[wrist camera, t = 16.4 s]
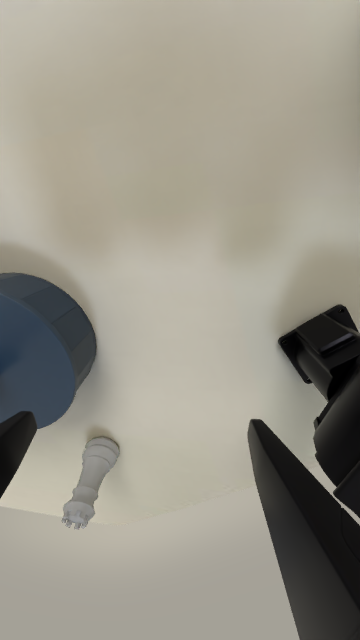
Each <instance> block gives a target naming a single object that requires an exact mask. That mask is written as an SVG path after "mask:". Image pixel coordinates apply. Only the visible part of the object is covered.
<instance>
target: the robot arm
mask: <svg viewBox="0 0 360 640" xmlns="http://www.w3.org/2000/svg"><path fill="white" fill-rule="evenodd" d="M339 309H341V311H340V312H338V311H339ZM285 340H286V342H285V343H282V342H283V341H285ZM278 343H279V345H280V346H281V348H282V349H283V351H284V352H285V353H286V355H287V356H288V358H289V359H290V361H291V362H292V364H293V365H294V367H295V368H296V370H297V371H298V373H299V374H300V376H301V377H302V379H303V380H304V382H305V383H307V384H310V383H314V385H315V386H316V387H317V388H318V390H319V391H320V392H321V394H322V395H323V396H324V397H325V399H326V400H327V401H328V404H327V405H326V407H325V408H324V410H323V411H322V413H321V414H320V416H319V417H317V418H316V419H315V421H314V427H315V434H314V438H313V439H314V444H315V448H316V451H317V453H316V454H315V457H316V459H317V461H318V462H319V464H320V466H321V468H322V469H323V471H324V472H325V474H326V475H327V476H328V478H329V479H330V480H331V481H332V483H333V484H334V485H335V486H336V487H337V488H336V489H335V490H334V491H333V494H334V496H335V497H336V498H337V499H339V500H340V501H341V502H342V503H343V504H345V505H346V506H347V507H348V508H349V509H351V510H352V511H353V512H354V513H355V514H356V515H357V516H358V517H359V518H360V333H359V332H358V330H357V328H356V326H355V324H354V322H353V320H352V318H351V316H350V314H349V312H348V310H347V308H346V307H345V306H343V305H336V306H335V307H333V308H331V309H329V310H328V311H326V312H324V313H322V314H320V315H318V316H316V317H314V318H313V319H311V320H309V321H307V322H306V323H304V324H302V325H300V326H299V327H297V328H296V329H294V330H293V331H291V332H289V333H287V334H286V335H284V336H282V337H281V338H279V340H278ZM308 378H310V379H308ZM307 379H308V380H307ZM36 431H37V422H36V420H35V417H34V414H33V412H32V411H20V412H18V413H17V414H15V415H13V416H12V417H10V418H8V419H7V420H5V421H3V422H2V423H0V498H1V497H2V495H3V493H4V492H5V490H6V488H7V487H8V485H9V483H10V482H11V480H12V478H13V477H14V475H15V473H16V471H17V469H18V468H19V466H20V464H21V462H22V460H23V458H24V456H25V454H26V452H27V450H28V447H29V445H30V443H31V441H32V439H33V437H34V435H35V433H36ZM248 443H249V449H250V454H251V460H252V466H253V471H254V476H255V481H256V485H257V489H258V493H259V496H260V500H261V503H262V507H263V511H264V514H265V517H266V521H267V525H268V528H269V532H270V535H271V539H272V542H273V546H274V549H275V553H276V557H277V560H278V564H279V567H280V571H281V574H282V578H283V581H284V585H285V588H286V592H287V596H288V599H289V603H290V606H291V610H292V613H293V617H294V621H295V624H296V627H297V631H298V635H299V638H300V640H360V526H359V524H358V523H357V522H356V521H355V520H354V519H353V518H352V517H351V516H350V515H349V514H348V513H347V511H346V510H344V508H341V505H340V504H339V503H338V502H337V501H336V500H335V499H334V498H333V496H332V495H330V493H329V492H328V491H327V490H326V489H325V488H324V487H323V486H322V485H321V484H320V482H318V480H317V479H316V478H315V477H314V476H313V475H312V474H311V473H310V472H309V471H308V469H307V468H306V467H305V466H304V465H303V464H302V463H301V462H300V461H299V460H298V459H297V458H296V457H295V455H294V454H293V453H292V452H291V451H290V450H289V449H288V448H287V447H286V446H285V445H284V444H283V442H282V441H281V440H280V439H279V438H278V437H277V436H276V435H275V434H274V433H273V432H272V431H271V430H270V428H269V427H268V426H267V425H266V424H265V423H264V422H263V421H262V420H260V419H251V420H250V423H249V429H248Z"/></svg>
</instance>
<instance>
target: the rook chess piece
mask: <svg viewBox="0 0 360 640" xmlns="http://www.w3.org/2000/svg"><path fill="white" fill-rule="evenodd" d="M118 455H119V449H118V446H117V445H116V443H115V442H114V441H112V440H111V439H108V438H105V437H98V438H94V439H92V440H91V441H89V442H88V443H87V444H86V447H85V450H84V452H83V455H82V459H83V463H82V465H83V469H82V473H81V476H80V480H79V482H78V485H77V487H76V488H75V489H73V497H72V499H71V500H70V501H68V502H67V503H66V504H65V505H64V507H63V511H64V516H63V519H62V523H65V522H66V520H68V521H67V523H66V526H67V527H69V528H70V526H71V524H72V522H73V523H76V524H75V527H74V529H79V528H80V525H81V524H82V526H81V527H82V528H85V527H86V525H87V524H88V521H89V520H90V519H91V518H92V517H93V516H94V514H95V511H94V507H93V504H94V501H95V500H96V499H97V498H98V490H99V487H100V485H101V483H102V480H103V478H104V476H105V475H106V473H108V472H109V470H110V469H111V468H112V467H113V466H114V464H115V462H116V460H117V459H116V458H117V457H118Z"/></svg>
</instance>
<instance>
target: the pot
mask: <svg viewBox="0 0 360 640" xmlns="http://www.w3.org/2000/svg"><path fill="white" fill-rule="evenodd" d="M0 290H2V291H4V292H7V293H9V294H11V295H13V296H15V297H17V298H18V299H20V300H22V301H24V302H25V303H27V304H28V305H30V306H31V307H32V308H34V309H35V310H37V311H38V312H39V313H40V314H41V315H42V316H44V317H45V318H46V319H47V320H48V321H49V322H50V323H51V324H52V325H53V326H54V327H55V329H56V330H57V331H58V332H59V334H60V335H61V336H62V338H63V339H64V341H65V342H66V344H67V346H68V347H69V349H70V352H71V354H72V356H73V358H74V362H75V365H76V369H77V376H78V381H77V390H78V388H79V387H80V385H81V384H82V382H83V381H84V379H85V378H86V376H87V375H88V373H89V372H90V369H91V367H92V365H93V362H94V359H95V355H96V339H95V334H94V331H93V328H92V325H91V323H90V321H89V319H88V317H87V316H86V314H85V313H84V311H83V310H82V308H81V307H80V306H79V305H78V304H77V303H76V301H75V300H74V299H72V298H71V297H70V296H69V295H68V294H67V293H66V292H64V291H63V290H62V289H60V288H59V287H57V286H55V285H54V284H52V283H50V282H48V281H46V280H43V279H41V278H38V277H35V276H32V275H27V274H22V273H2V274H0Z"/></svg>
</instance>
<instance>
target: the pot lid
mask: <svg viewBox="0 0 360 640" xmlns="http://www.w3.org/2000/svg"><path fill="white" fill-rule="evenodd" d="M77 381H78V376H77V369H76V365H75V362H74V358H73V356H72V354H71V352H70V349H69V347H68V346H67V344H66V342H65V341H64V339H63V338H62V336H61V335H60V334H59V332H58V331H57V330H56V329H55V327H54V326H53V325H52V324H51V323H50V322H49V321H48V320H47V319H46V318H45V317H44V316H42V315H41V314H40V313H39V312H38V311H37V310H35V309H34V308H32V307H31V306H30V305H28V304H27V303H25V302H24V301H22V300H20V299H18V298H17V297H15V296H13V295H11V294H9V293H7V292H4V291H2V290H0V423H2V422H3V421H5V420H7V419H8V418H10V417H12V416H13V415H15V414H17V413H18V412H20V411H32V412H33V414H34V417H35V420H36V422H37V429H40V428H43V427H45V426H48V425H50V424H52V423H54V422H55V421H57V420H58V419H59V418H61V417H62V416H63V415H64V413H65V412H66V411H67V410H68V408H69V407H70V405H71V404H72V402H73V400H74V397H75V395H76V391H77Z"/></svg>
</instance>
